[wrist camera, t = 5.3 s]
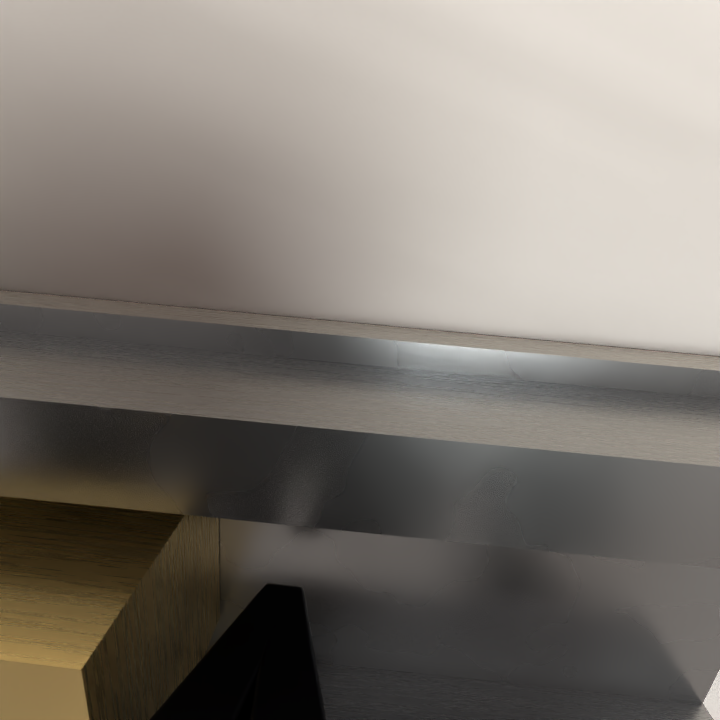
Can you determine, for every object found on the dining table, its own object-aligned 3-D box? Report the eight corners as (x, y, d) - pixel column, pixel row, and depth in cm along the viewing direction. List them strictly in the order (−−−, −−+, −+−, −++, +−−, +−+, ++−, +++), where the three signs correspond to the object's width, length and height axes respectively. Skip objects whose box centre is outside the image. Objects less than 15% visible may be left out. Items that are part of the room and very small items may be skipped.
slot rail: (650, 713, 11) (760, 916, 8) (30, 647, 12) (-109, 817, 8) (806, 365, 8) (1094, 464, 5) (-54, 285, 8) (-329, 328, 5)
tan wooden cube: (219, 616, 10) (114, 875, 6) (47, 595, 10) (-169, 838, 6) (218, 464, 8) (81, 670, 5) (18, 441, 8) (-279, 624, 5)
